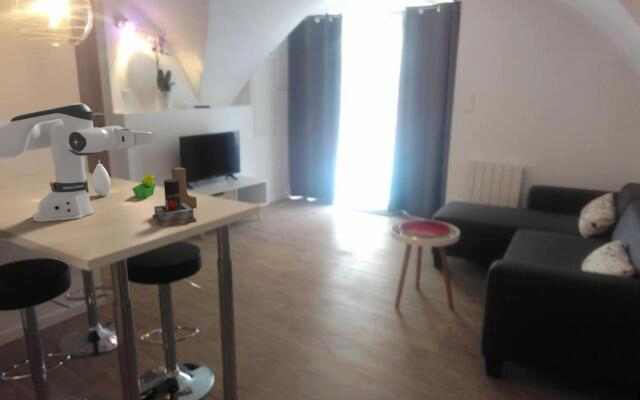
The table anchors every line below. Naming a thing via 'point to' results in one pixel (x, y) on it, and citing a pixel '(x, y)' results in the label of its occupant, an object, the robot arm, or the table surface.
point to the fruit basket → (145, 187)
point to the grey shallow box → (173, 215)
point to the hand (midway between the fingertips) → (144, 134)
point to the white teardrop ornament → (101, 180)
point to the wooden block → (183, 187)
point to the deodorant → (172, 195)
